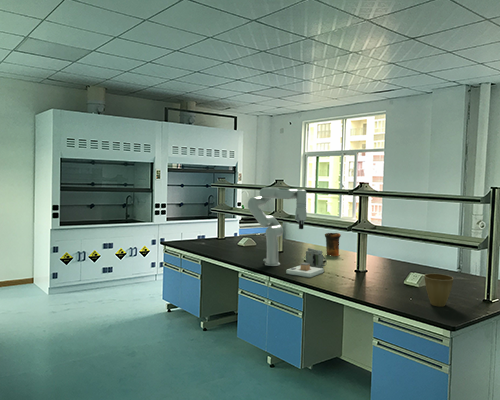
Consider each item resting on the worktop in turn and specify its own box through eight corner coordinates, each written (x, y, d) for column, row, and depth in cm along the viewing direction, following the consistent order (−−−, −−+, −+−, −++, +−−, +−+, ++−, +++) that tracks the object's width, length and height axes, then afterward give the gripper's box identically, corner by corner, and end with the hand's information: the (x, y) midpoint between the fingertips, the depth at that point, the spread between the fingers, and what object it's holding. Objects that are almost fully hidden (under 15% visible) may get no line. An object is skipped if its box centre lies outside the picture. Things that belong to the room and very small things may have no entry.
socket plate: (286, 273, 313) (286, 268, 313) (300, 269, 328) (300, 264, 328) (309, 277, 300) (309, 272, 300) (323, 272, 316) (323, 267, 316)
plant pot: (418, 303, 239) (418, 275, 238) (434, 299, 247) (435, 272, 246) (441, 310, 226) (442, 281, 225) (458, 306, 234) (459, 277, 233)
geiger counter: (304, 247, 347) (323, 252, 325) (310, 246, 350) (329, 251, 327) (304, 264, 348) (323, 270, 325) (310, 263, 350) (329, 269, 328)
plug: (300, 272, 314) (300, 263, 314) (304, 271, 318) (304, 262, 318) (306, 273, 311) (306, 264, 311) (309, 272, 315) (309, 263, 315)
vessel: (334, 257, 376) (334, 234, 375) (321, 255, 387) (321, 233, 386) (344, 255, 385) (343, 233, 385) (331, 253, 396) (331, 232, 396)
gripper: (302, 204, 336) (302, 227, 337) (291, 205, 324) (291, 229, 325) (310, 205, 331) (310, 228, 332) (300, 206, 320) (300, 230, 321)
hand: (301, 229), depth 329 cm, fingers closed
